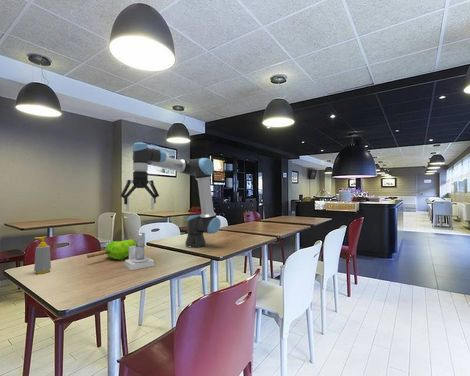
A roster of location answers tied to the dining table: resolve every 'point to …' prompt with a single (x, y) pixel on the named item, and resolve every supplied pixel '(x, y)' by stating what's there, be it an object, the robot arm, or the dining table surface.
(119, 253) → the decorative tree
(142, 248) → the spacer
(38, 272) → the soap bottle
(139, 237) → the spacer
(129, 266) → the light grey square stand
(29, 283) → the dining table surface
